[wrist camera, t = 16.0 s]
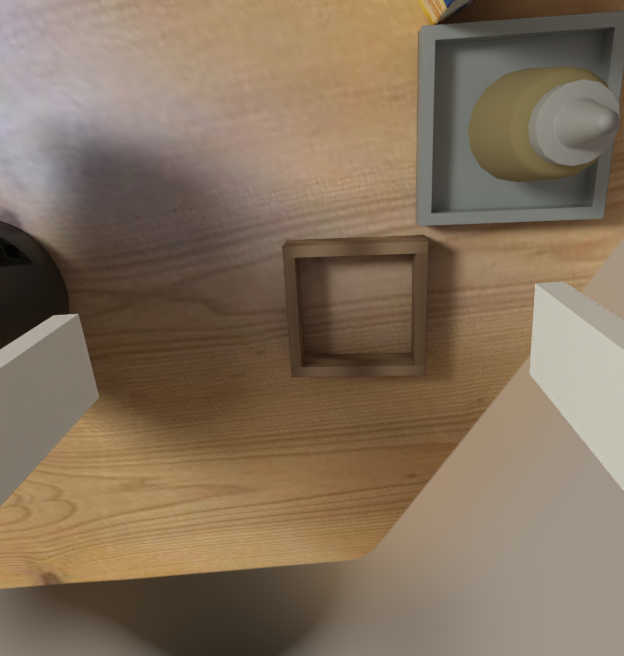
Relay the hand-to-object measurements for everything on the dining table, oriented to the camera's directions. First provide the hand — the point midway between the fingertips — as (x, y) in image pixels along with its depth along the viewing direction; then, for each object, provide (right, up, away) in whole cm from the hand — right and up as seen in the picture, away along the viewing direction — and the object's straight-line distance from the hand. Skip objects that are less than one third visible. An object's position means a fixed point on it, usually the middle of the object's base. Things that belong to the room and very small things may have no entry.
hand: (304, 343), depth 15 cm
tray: (+17, +17, +29) cm, 37 cm away
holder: (+4, +3, +35) cm, 35 cm away
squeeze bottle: (+16, +17, +28) cm, 37 cm away
